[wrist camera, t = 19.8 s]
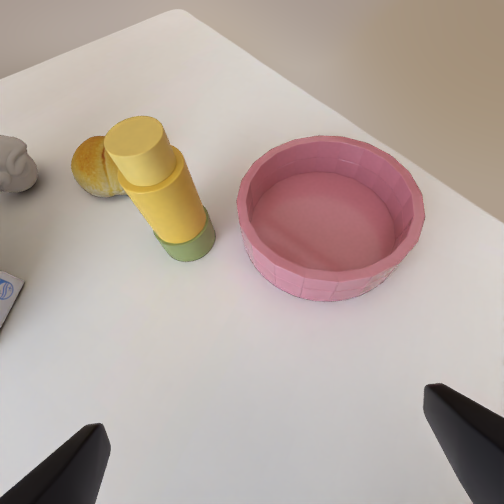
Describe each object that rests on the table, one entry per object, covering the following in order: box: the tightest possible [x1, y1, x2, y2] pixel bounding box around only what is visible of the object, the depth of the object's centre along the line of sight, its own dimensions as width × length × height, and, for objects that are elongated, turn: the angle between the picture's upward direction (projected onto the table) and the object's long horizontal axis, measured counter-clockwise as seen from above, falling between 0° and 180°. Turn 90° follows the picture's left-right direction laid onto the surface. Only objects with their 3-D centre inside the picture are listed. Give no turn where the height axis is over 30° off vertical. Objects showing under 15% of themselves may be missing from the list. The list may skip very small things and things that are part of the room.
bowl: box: [236, 135, 425, 301], centre depth 24 cm, size 15×15×4 cm
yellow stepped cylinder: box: [104, 116, 215, 262], centre depth 22 cm, size 5×5×12 cm
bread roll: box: [71, 136, 127, 197], centre depth 30 cm, size 8×9×4 cm
